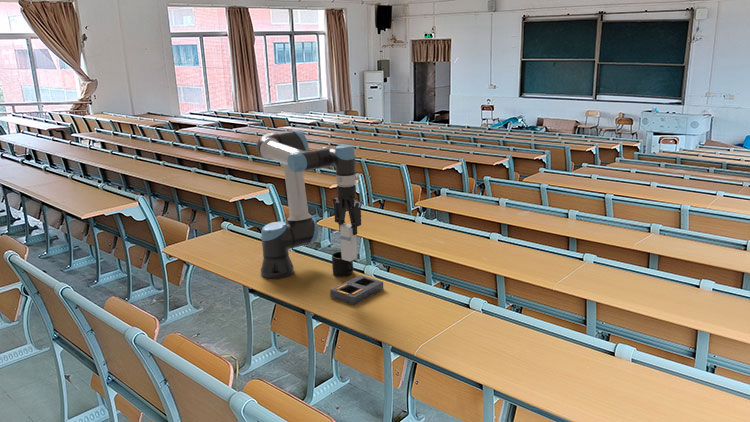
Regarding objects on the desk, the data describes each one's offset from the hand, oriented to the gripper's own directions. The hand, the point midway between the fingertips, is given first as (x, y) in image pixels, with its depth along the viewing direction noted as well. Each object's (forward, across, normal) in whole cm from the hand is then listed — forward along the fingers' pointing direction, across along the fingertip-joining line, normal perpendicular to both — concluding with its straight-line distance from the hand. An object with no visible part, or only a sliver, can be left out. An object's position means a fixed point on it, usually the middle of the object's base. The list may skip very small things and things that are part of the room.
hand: (348, 240), depth 223 cm
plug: (+8, 0, 0) cm, 8 cm away
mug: (+25, -18, +17) cm, 35 cm away
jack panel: (+25, 0, +4) cm, 25 cm away
